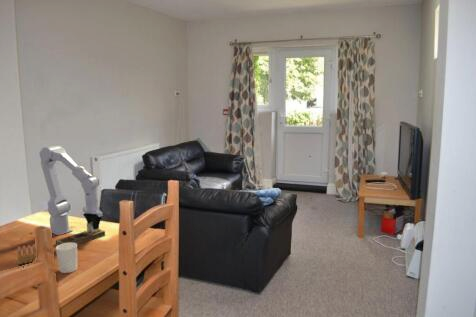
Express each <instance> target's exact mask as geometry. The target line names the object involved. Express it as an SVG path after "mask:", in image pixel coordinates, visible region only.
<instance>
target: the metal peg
mask: <svg viewBox="0 0 476 317" xmlns="http://www.w3.org/2000/svg"><path fill="white" fill-rule="evenodd" d="M99 229H100V227H99V228H98V229H94V227H93V222H89V223H87V222H86V230H87V232H89V233H91V234H94V233H97V232H99Z"/></svg>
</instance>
